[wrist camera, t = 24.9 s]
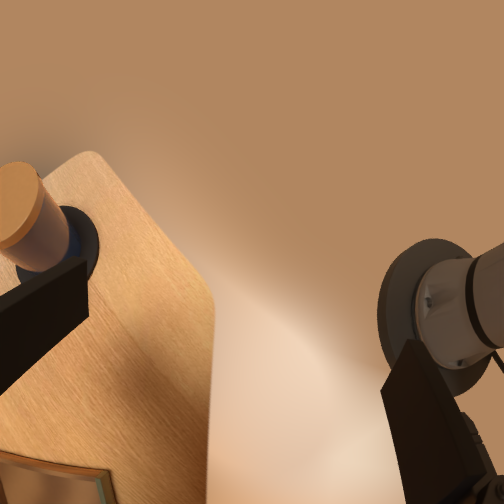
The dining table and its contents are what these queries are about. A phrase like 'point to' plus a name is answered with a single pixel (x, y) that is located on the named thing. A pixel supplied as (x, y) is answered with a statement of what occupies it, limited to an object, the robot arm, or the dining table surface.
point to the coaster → (86, 235)
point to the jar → (33, 222)
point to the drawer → (51, 483)
